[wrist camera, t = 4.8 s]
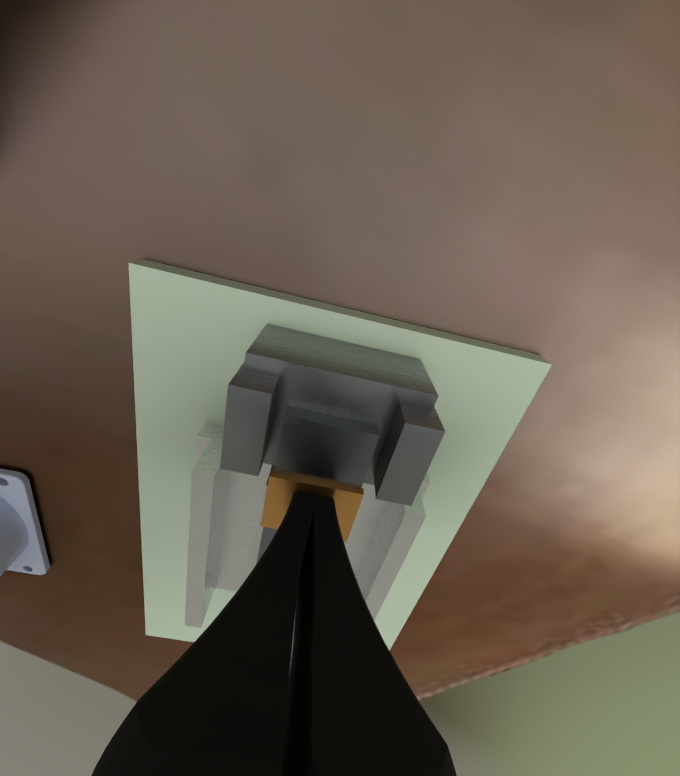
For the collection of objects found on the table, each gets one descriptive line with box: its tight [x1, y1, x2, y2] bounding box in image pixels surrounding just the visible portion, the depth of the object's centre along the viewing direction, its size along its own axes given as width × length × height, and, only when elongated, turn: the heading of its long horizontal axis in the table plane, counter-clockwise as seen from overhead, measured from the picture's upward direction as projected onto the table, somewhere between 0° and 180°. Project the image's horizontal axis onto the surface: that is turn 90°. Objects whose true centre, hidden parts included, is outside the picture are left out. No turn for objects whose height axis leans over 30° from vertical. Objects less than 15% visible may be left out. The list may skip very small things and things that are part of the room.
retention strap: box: [256, 406, 380, 674], centre depth 14 cm, size 3×16×1 cm, turn 167°
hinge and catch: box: [220, 323, 445, 506], centre depth 16 cm, size 6×20×4 cm, turn 167°
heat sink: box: [185, 422, 430, 628], centre depth 16 cm, size 10×10×3 cm
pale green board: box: [129, 259, 552, 650], centre depth 18 cm, size 16×24×1 cm, turn 167°
